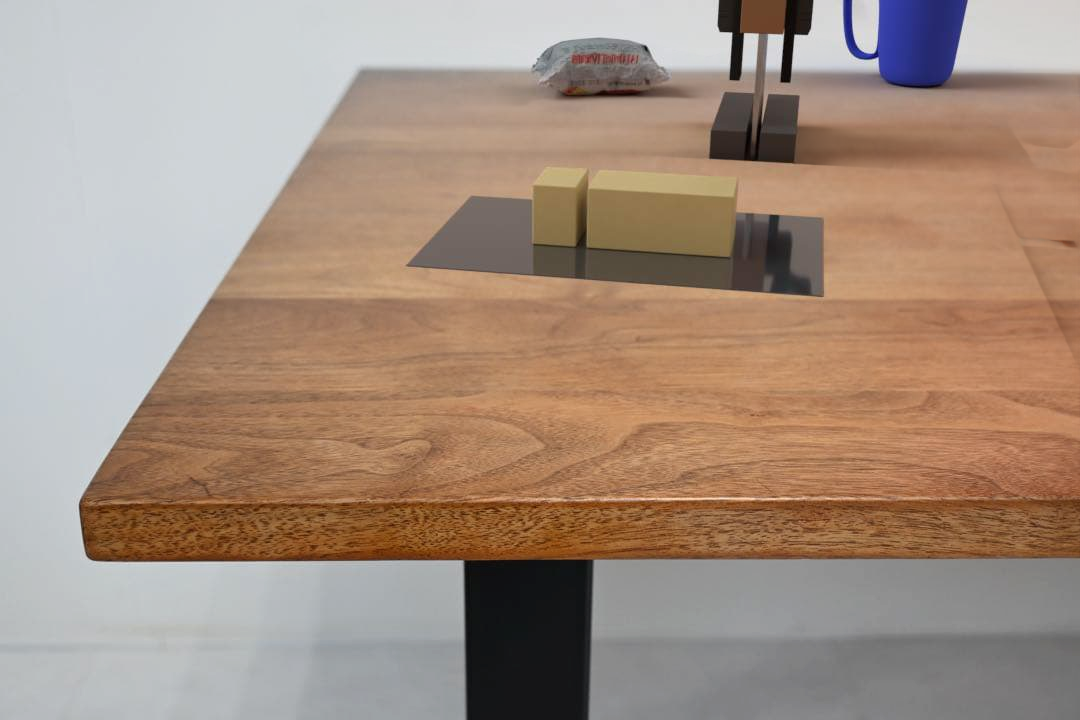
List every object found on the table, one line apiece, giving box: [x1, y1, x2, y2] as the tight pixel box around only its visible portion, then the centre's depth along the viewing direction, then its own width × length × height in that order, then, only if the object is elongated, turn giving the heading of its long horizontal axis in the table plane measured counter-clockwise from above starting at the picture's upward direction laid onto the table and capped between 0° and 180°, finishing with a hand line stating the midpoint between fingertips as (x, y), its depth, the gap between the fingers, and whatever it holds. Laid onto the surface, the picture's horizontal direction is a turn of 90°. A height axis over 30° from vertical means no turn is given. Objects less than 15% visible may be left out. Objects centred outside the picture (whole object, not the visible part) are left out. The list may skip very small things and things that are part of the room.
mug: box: [842, 0, 969, 87], centre depth 121 cm, size 8×12×10 cm
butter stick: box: [587, 169, 740, 258], centre depth 71 cm, size 8×4×4 cm, turn 78°
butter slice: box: [532, 166, 590, 247], centre depth 72 cm, size 2×4×4 cm, turn 168°
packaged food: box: [530, 37, 673, 96], centre depth 114 cm, size 9×12×5 cm
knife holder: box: [708, 91, 801, 165], centre depth 96 cm, size 6×14×3 cm, turn 168°
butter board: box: [405, 195, 824, 298], centre depth 72 cm, size 22×14×1 cm, turn 78°
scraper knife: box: [740, 0, 787, 160], centre depth 94 cm, size 3×10×12 cm, turn 168°
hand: (760, 77), depth 94 cm, fingers closed on scraper knife, 3 cm apart
